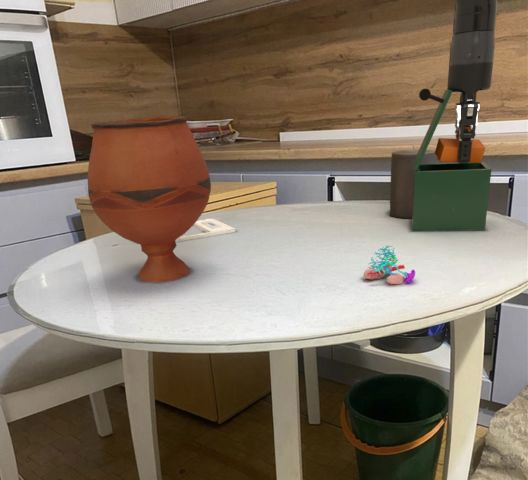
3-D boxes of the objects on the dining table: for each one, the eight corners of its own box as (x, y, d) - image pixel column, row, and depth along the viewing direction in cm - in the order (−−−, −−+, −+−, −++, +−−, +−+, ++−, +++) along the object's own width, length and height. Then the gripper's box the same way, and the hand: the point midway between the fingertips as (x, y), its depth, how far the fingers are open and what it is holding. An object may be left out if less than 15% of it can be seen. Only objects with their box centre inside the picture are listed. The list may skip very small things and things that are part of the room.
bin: (477, 219, 114) (483, 161, 109) (484, 232, 104) (491, 169, 99) (411, 220, 117) (414, 164, 112) (412, 233, 107) (415, 172, 102)
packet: (434, 153, 105) (438, 137, 103) (474, 154, 105) (479, 139, 103) (439, 161, 102) (444, 146, 100) (480, 163, 102) (485, 147, 100)
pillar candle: (382, 217, 123) (383, 147, 116) (400, 209, 130) (402, 143, 123) (422, 220, 117) (427, 147, 111) (439, 211, 124) (444, 142, 118)
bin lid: (448, 90, 105) (423, 81, 105) (452, 91, 95) (425, 80, 95) (416, 163, 112) (392, 154, 112) (416, 170, 102) (391, 160, 102)
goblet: (93, 299, 83) (56, 125, 72) (121, 264, 100) (94, 120, 89) (216, 290, 83) (197, 115, 72) (222, 257, 100) (207, 112, 89)
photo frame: (235, 227, 117) (155, 240, 110) (235, 232, 118) (156, 246, 111) (211, 217, 129) (138, 229, 123) (212, 222, 130) (139, 233, 123)
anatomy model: (386, 263, 74) (421, 248, 77) (348, 253, 80) (382, 239, 83) (388, 297, 76) (422, 281, 79) (352, 285, 83) (384, 270, 85)
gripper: (499, 58, 89) (487, 165, 96) (488, 61, 102) (478, 156, 109) (451, 62, 91) (444, 166, 98) (446, 65, 103) (440, 157, 111)
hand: (462, 160), depth 103 cm, fingers closed on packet, 5 cm apart
